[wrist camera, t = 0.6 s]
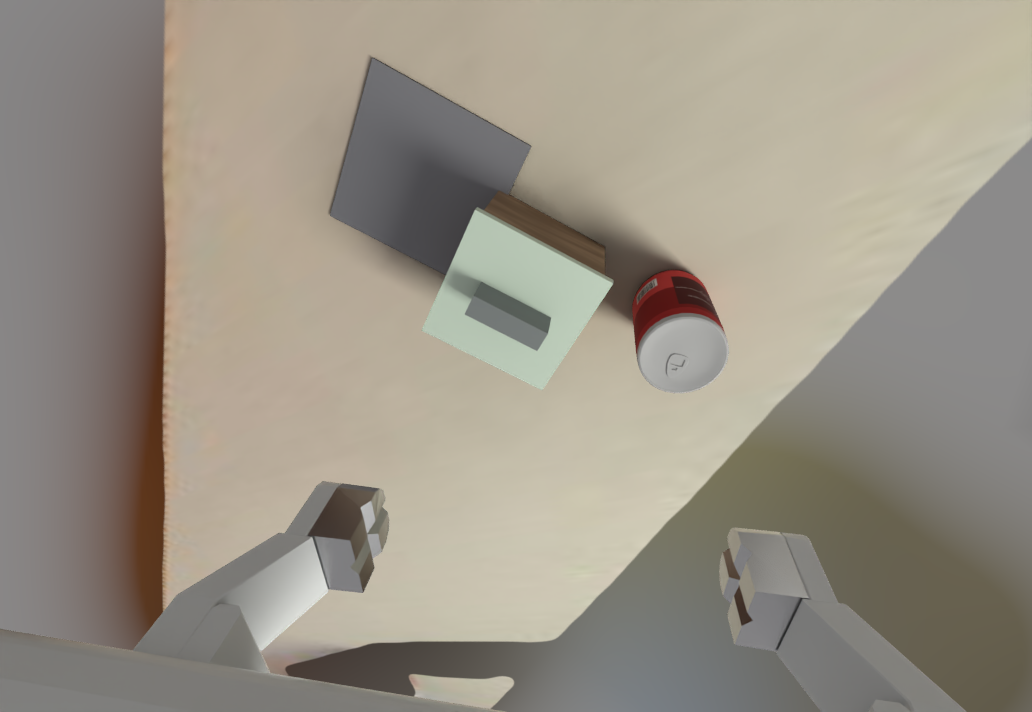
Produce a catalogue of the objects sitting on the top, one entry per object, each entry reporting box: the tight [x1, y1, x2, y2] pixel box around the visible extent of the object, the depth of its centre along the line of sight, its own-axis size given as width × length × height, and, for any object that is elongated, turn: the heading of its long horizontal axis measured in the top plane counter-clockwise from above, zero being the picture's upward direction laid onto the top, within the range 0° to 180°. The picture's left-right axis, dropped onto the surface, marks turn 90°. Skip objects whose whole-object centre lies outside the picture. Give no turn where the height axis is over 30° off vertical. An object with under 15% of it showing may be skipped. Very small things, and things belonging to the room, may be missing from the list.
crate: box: [484, 191, 605, 275], centre depth 49 cm, size 12×12×9 cm
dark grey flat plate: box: [330, 58, 531, 275], centre depth 50 cm, size 16×16×1 cm
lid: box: [422, 207, 613, 390], centre depth 44 cm, size 13×13×5 cm
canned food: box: [632, 270, 729, 393], centre depth 48 cm, size 8×8×11 cm
